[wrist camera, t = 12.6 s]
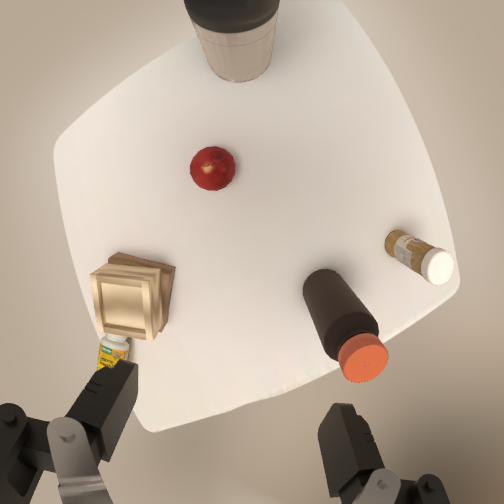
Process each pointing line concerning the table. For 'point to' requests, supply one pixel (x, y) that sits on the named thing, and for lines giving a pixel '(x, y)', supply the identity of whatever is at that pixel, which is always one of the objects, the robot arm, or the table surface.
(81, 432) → the robot arm
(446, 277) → the sprinkles bottle
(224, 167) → the onion
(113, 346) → the supplement bottle
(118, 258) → the tower base
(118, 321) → the tower top
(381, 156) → the table surface
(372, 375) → the vinegar
